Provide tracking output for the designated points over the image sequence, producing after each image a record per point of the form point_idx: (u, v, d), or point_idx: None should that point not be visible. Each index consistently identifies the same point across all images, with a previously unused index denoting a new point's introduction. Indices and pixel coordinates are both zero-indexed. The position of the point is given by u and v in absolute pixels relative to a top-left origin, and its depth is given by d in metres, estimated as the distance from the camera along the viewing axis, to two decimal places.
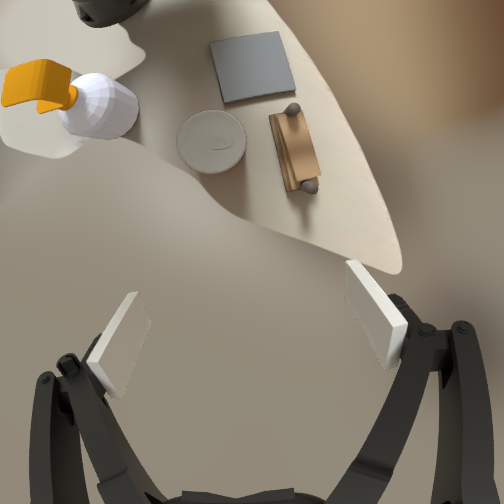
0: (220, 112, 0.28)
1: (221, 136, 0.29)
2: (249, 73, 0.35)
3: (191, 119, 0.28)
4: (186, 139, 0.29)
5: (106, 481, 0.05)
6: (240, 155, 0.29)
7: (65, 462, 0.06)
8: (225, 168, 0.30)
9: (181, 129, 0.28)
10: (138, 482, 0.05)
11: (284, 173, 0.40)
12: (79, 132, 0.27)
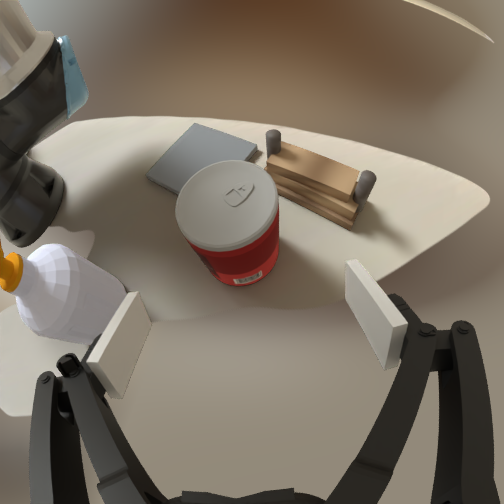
0: (207, 168, 0.21)
1: (232, 187, 0.21)
2: (205, 166, 0.34)
3: (181, 198, 0.20)
4: (194, 223, 0.20)
5: (106, 481, 0.05)
6: (273, 184, 0.20)
7: (65, 462, 0.06)
8: (272, 210, 0.19)
9: (178, 216, 0.20)
10: (138, 482, 0.05)
11: (330, 213, 0.30)
12: (53, 323, 0.18)
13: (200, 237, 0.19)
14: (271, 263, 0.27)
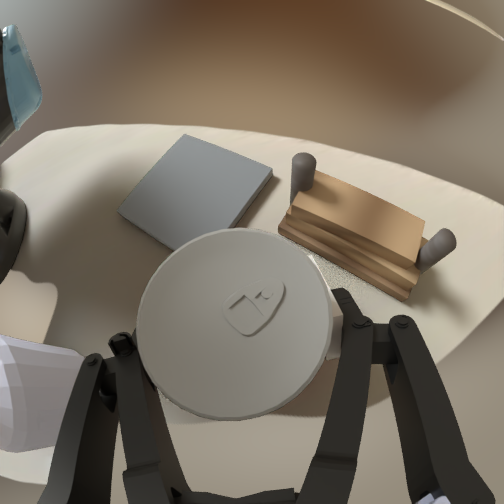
0: (193, 244, 0.11)
1: (242, 291, 0.11)
2: (198, 201, 0.24)
3: (145, 309, 0.10)
4: (172, 364, 0.10)
5: (134, 471, 0.05)
6: (324, 290, 0.10)
7: (95, 451, 0.07)
8: (322, 350, 0.09)
9: (141, 348, 0.10)
10: (167, 476, 0.06)
11: (379, 280, 0.20)
12: (7, 446, 0.08)
13: (185, 396, 0.09)
14: None
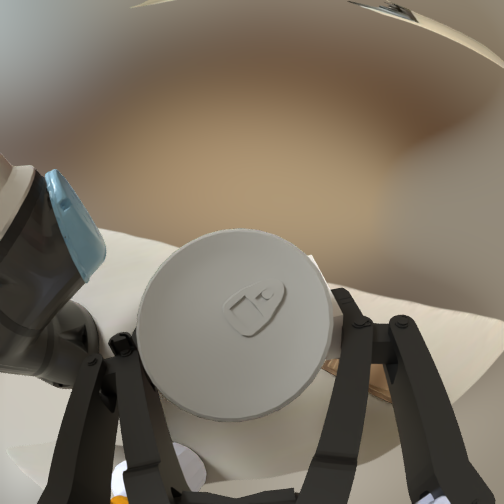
0: (193, 244, 0.11)
1: (243, 291, 0.11)
2: None
3: (145, 310, 0.10)
4: (172, 364, 0.10)
5: (134, 470, 0.05)
6: (325, 291, 0.10)
7: (95, 451, 0.07)
8: (322, 351, 0.09)
9: (141, 349, 0.10)
10: (167, 476, 0.06)
11: (381, 397, 0.28)
12: None
13: (185, 397, 0.09)
14: None
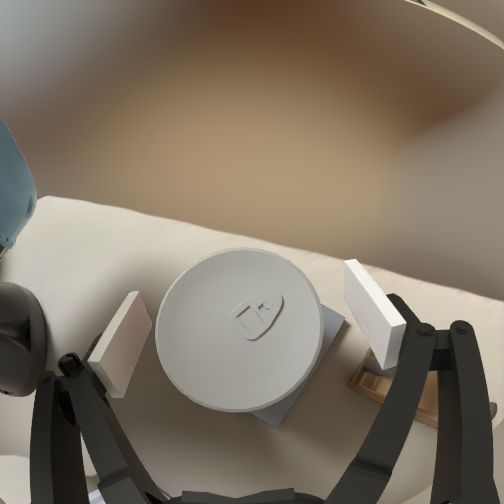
0: (203, 261, 0.13)
1: (247, 302, 0.12)
2: None
3: (163, 318, 0.12)
4: (187, 364, 0.12)
5: (107, 481, 0.05)
6: (316, 302, 0.12)
7: (66, 462, 0.06)
8: (314, 352, 0.11)
9: (160, 352, 0.12)
10: (139, 482, 0.05)
11: (428, 422, 0.17)
12: None
13: (199, 392, 0.11)
14: None
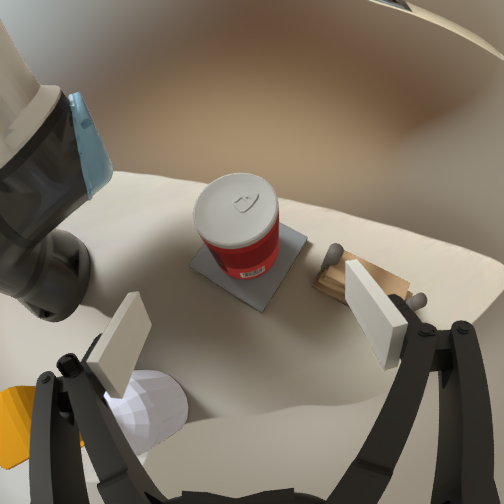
0: (219, 179, 0.26)
1: (240, 196, 0.25)
2: None
3: (197, 205, 0.25)
4: (209, 225, 0.24)
5: (106, 481, 0.05)
6: (274, 194, 0.25)
7: (65, 462, 0.06)
8: (273, 215, 0.24)
9: (195, 220, 0.24)
10: (138, 482, 0.05)
11: None
12: (136, 452, 0.18)
13: (215, 237, 0.24)
14: (272, 260, 0.31)
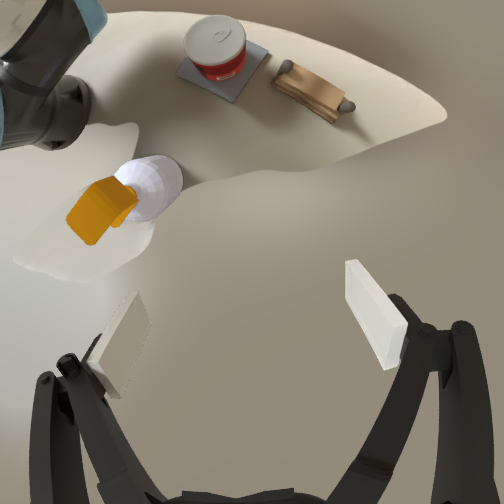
0: (201, 20, 0.24)
1: (218, 31, 0.26)
2: None
3: (186, 39, 0.26)
4: (196, 52, 0.27)
5: (106, 481, 0.05)
6: (243, 29, 0.25)
7: (65, 462, 0.06)
8: (241, 44, 0.26)
9: (186, 49, 0.26)
10: (138, 482, 0.05)
11: (320, 112, 0.39)
12: (156, 213, 0.36)
13: (201, 59, 0.27)
14: (240, 67, 0.34)
